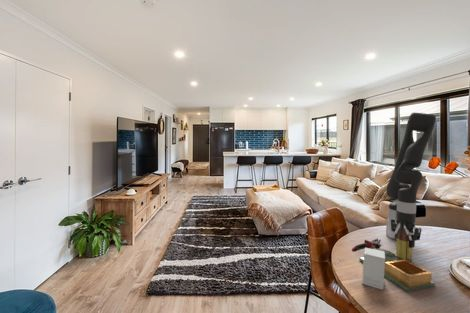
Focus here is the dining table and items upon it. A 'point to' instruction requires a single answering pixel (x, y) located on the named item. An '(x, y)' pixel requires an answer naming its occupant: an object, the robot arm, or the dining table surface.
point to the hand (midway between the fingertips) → (404, 244)
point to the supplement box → (373, 268)
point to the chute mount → (405, 273)
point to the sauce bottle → (403, 244)
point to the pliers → (368, 244)
